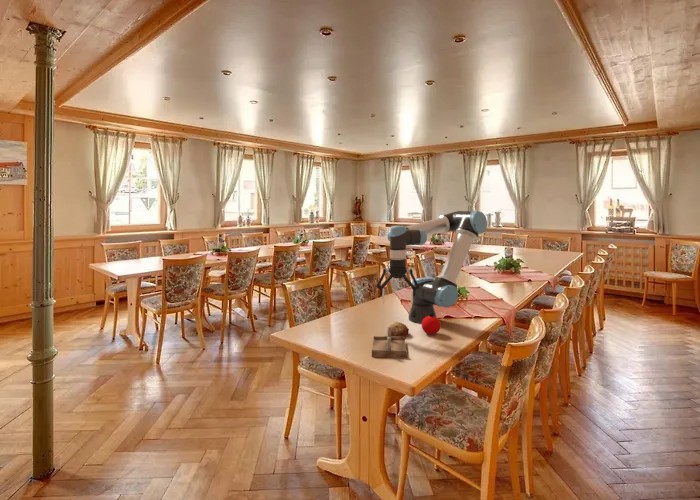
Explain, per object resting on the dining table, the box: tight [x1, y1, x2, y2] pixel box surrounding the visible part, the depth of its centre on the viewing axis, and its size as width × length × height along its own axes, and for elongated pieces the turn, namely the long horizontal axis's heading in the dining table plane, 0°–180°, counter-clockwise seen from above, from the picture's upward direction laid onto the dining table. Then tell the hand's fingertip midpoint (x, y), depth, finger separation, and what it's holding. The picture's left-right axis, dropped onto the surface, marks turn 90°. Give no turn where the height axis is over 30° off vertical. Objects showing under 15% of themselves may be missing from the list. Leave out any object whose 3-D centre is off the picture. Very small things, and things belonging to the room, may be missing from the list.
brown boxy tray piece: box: [371, 326, 407, 358], centre depth 165 cm, size 14×18×8 cm
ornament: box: [421, 314, 442, 336], centre depth 184 cm, size 9×9×10 cm
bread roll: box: [388, 321, 410, 338], centre depth 184 cm, size 10×10×8 cm
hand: (397, 302), depth 183 cm, fingers open, 13 cm apart
